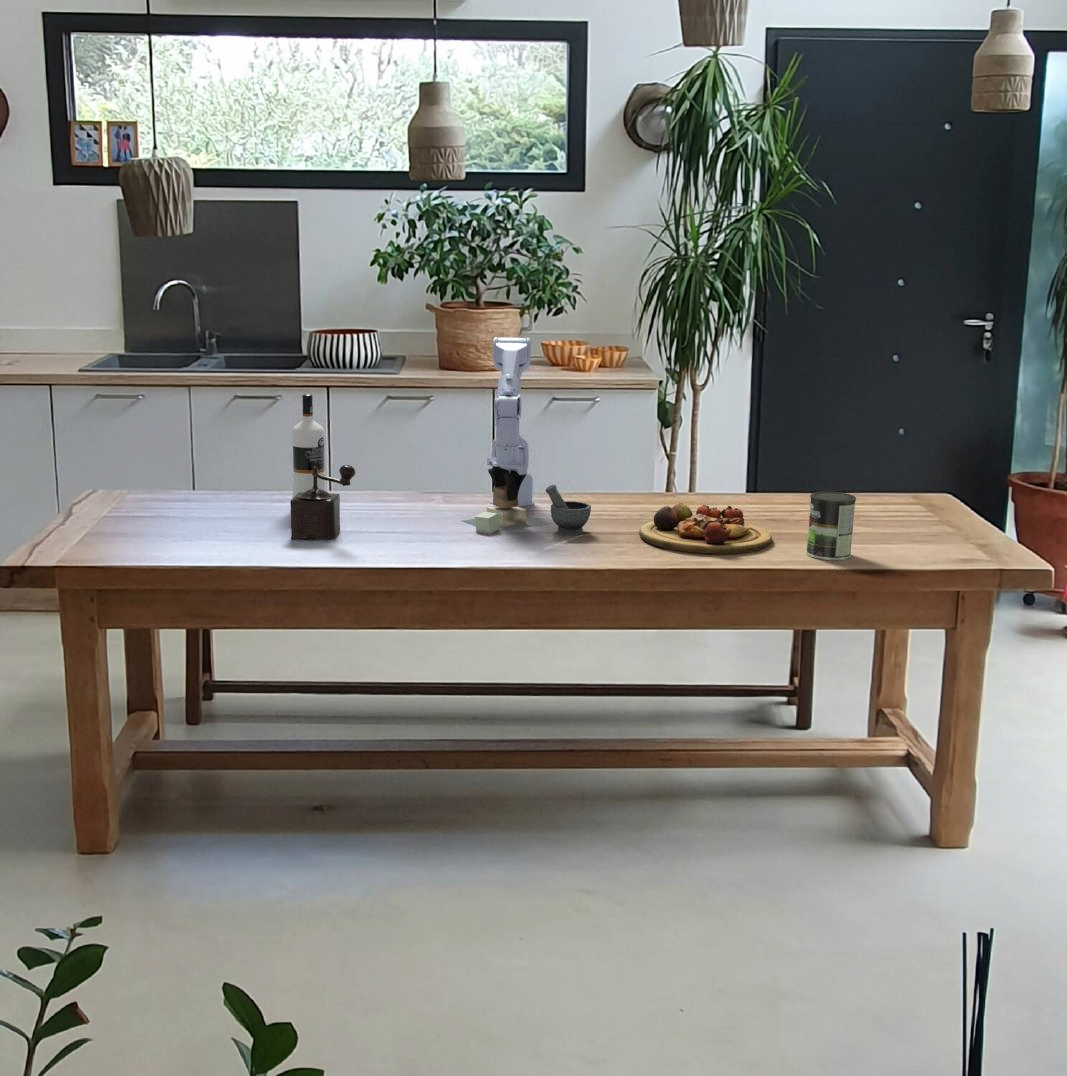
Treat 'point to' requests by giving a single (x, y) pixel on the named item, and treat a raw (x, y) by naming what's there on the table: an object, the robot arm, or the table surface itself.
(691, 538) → the wooden plate with food
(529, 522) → the slate mat
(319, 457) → the vodka
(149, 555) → the table surface
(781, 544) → the table surface
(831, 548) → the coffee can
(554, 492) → the mortar and pestle
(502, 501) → the walnut cube
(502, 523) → the beech block
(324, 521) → the manual coffee grinder
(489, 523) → the sage block
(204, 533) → the table surface
